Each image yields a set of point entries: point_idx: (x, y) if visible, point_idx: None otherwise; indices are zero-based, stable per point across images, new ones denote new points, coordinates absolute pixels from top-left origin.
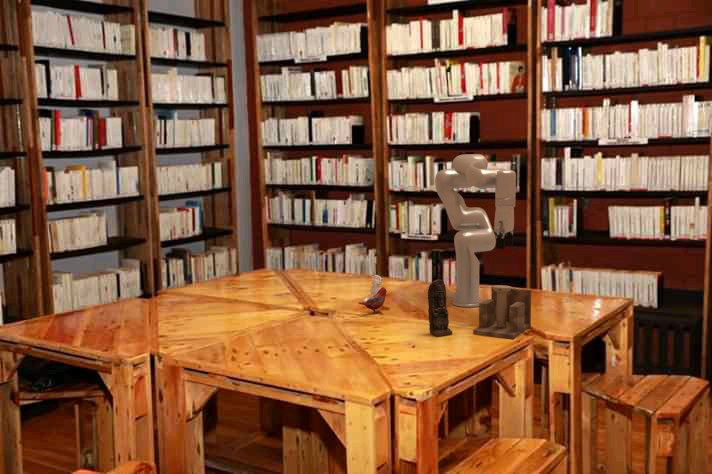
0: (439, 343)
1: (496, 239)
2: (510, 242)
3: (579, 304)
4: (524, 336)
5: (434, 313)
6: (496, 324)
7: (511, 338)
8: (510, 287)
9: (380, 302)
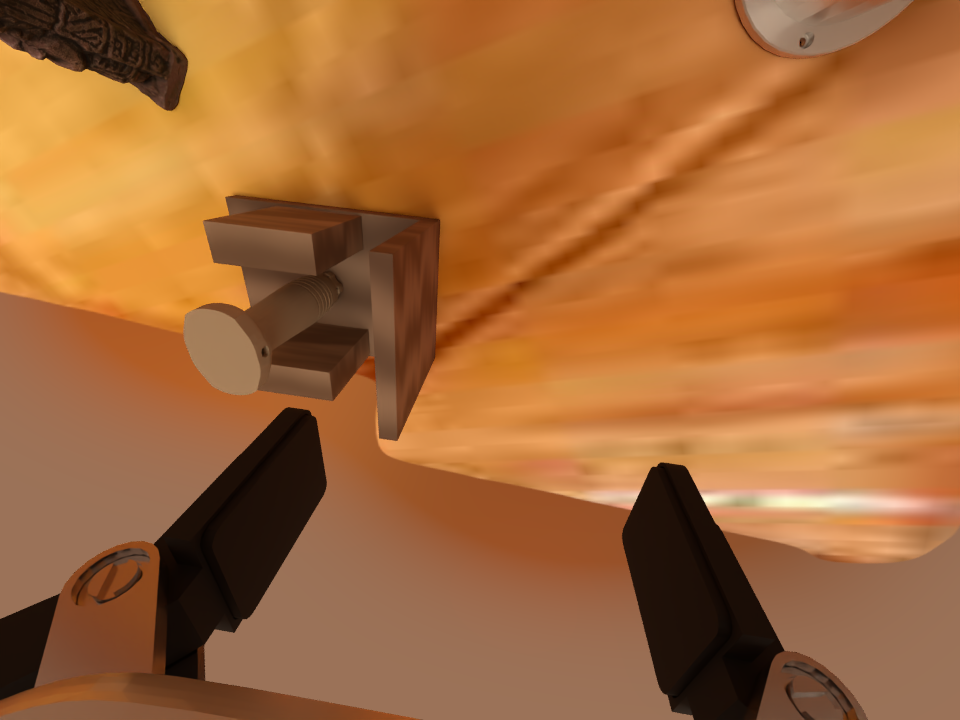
0: (44, 104)
1: (189, 515)
2: (636, 557)
3: (819, 459)
4: None
5: None
6: (352, 261)
7: None
8: (237, 394)
9: None
